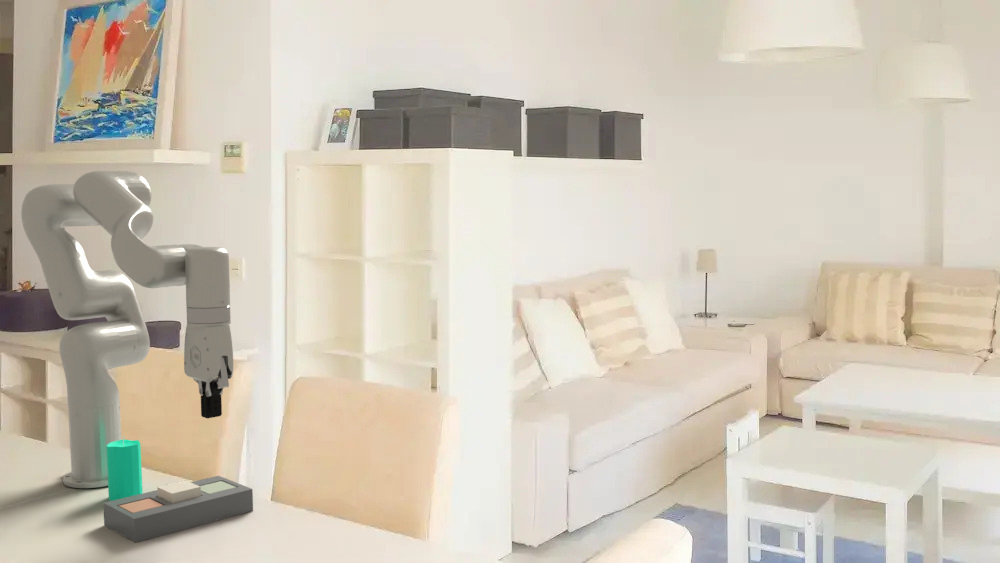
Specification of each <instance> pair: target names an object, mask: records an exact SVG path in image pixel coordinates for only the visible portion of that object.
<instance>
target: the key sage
mask: <svg viewBox="0 0 1000 563" xmlns="http://www.w3.org/2000/svg"><path fill="white" fill-rule="evenodd" d="M200 487H201V491H202V492H205V493H207V494H212V493H216V492H220V491H224V490H228V489H232V488H236V487H235V486H232V485H230V484H227V483H225V482H222V481H219V482H215V483H211V484H207V485H203V486H200Z"/></svg>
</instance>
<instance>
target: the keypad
mask: <svg viewBox="0 0 1000 563" xmlns="http://www.w3.org/2000/svg"><path fill="white" fill-rule="evenodd" d="M219 481H222V482H225V483H227V484H230V485H232V486H235V487H236V488H232V489H228V490H224V491H220V492H216V493H212V494H207V493H205V492H202V491H201V496H200V497H196V498H192V499H188V500H184V501H180V502H175V503H169V502H167V501H165V500H163V499H161V498H159V497H158V489H156V490H152V491H147V492H143V494H139V495H134V496H130V497H126V498H122V499H117V500H113V501H110V500H109V501H105V502H103V503H102V504H103V505H102V506H103V524H104V525H103V526H104V527H107V528H108V529H110V530H112V531H114V532H116V533H118V534H120V535H121V536H123V537H125V538H126V539H129V540H130V541H132V542H133V543H139V542H142V541H147V540H150V539H153V538H158V537H161V536H163V535H168V534H171V533H174V532H175V533H176V532H179V531H182V530H187V529H190V528H194V527H198V526H201V525H205V524H209V523H212V522H216V521H219V520H224V519H227V518H231V517H235V516H237V515H241V514H245V513H249V512H252V511H254V503H253V502H254V500H253V499H254V497H253V495H254V494H253V488H251V487H249V486H245V485H243V484H241V483H238V482H236V481H233V480H230V479H228V478H226V477H223V476H220V475H215V476H212V477H206V478H202V479H198V480H195V481H190V482H191V483H193V484H195V485H198V486H203V485H207V484H211V483H215V482H219ZM145 499H151V500H154V501H156V502H158V503H160V504H162V505H163V506H159V507H155V508H151V509H147V510H143V511H139V512H135V513H131V512H129V511H127V510H125V509H123V508H121V507H119V506H120V505H124V504H128V503H132V502H136V501H140V500H145Z"/></svg>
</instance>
